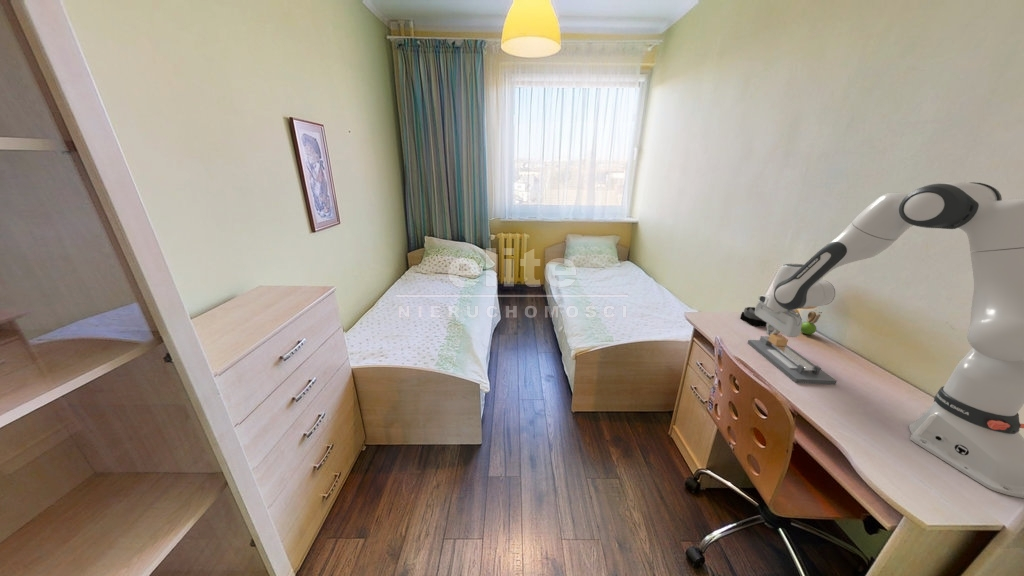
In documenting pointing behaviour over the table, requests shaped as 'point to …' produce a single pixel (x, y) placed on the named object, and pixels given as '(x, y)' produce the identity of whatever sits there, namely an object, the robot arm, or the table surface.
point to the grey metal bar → (794, 358)
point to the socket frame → (790, 364)
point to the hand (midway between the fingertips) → (770, 335)
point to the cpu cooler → (752, 317)
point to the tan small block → (778, 340)
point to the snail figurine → (810, 323)
